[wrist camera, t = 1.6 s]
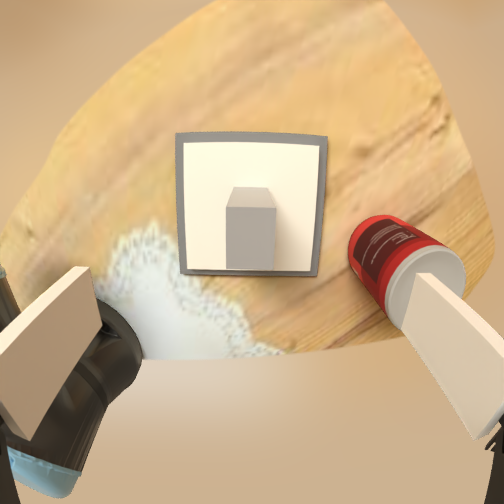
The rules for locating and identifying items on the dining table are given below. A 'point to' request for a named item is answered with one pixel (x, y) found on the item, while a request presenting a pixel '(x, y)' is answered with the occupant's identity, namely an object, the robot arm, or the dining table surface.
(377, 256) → the canned food
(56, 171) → the dining table surface
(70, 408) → the robot arm
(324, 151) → the mat
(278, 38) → the dining table surface
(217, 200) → the lid
